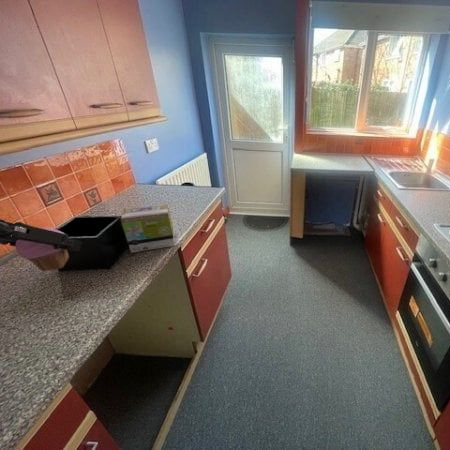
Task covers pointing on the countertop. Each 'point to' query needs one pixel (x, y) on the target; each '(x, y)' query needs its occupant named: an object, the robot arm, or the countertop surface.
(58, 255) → the cupcake
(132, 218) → the tea box
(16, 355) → the countertop surface
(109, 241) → the waste bin
